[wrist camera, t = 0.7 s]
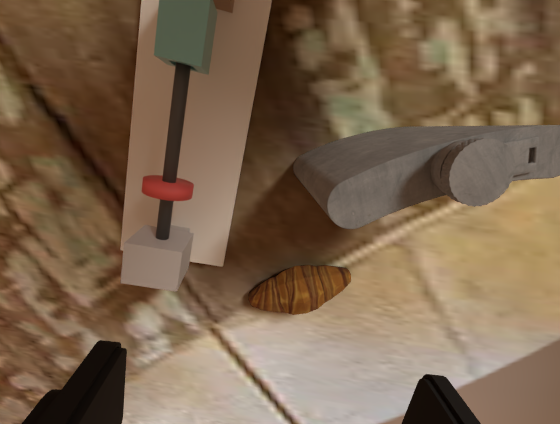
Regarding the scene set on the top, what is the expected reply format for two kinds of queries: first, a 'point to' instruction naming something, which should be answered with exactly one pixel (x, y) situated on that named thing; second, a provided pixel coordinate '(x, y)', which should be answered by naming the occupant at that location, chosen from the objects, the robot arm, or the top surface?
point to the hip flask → (424, 167)
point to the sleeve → (186, 33)
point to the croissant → (300, 289)
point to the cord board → (188, 147)
